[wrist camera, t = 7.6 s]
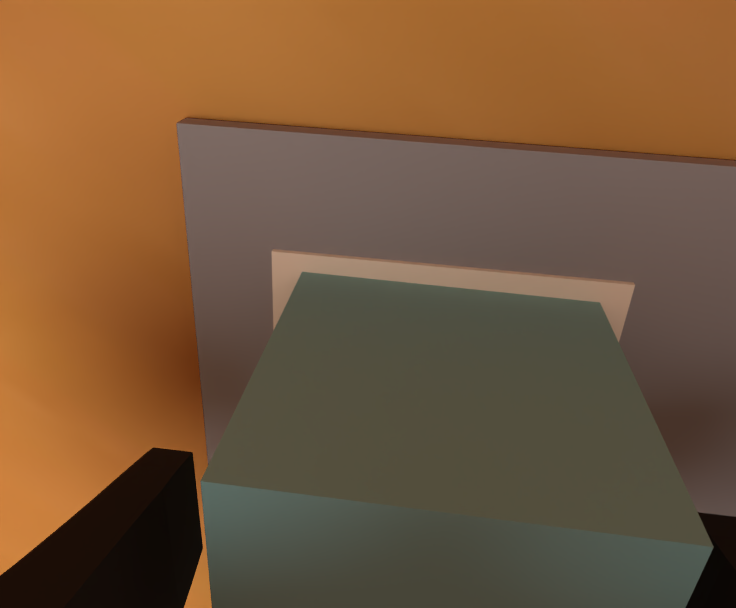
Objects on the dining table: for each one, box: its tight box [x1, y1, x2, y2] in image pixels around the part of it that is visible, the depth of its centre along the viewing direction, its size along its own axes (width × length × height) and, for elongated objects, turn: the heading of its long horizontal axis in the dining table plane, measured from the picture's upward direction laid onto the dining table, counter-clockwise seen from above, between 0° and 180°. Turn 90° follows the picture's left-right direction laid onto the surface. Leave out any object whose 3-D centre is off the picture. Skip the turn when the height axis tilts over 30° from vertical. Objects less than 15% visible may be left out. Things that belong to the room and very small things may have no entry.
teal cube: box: [201, 272, 714, 608], centre depth 9 cm, size 5×5×5 cm
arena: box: [177, 118, 736, 517], centre depth 11 cm, size 13×15×4 cm
